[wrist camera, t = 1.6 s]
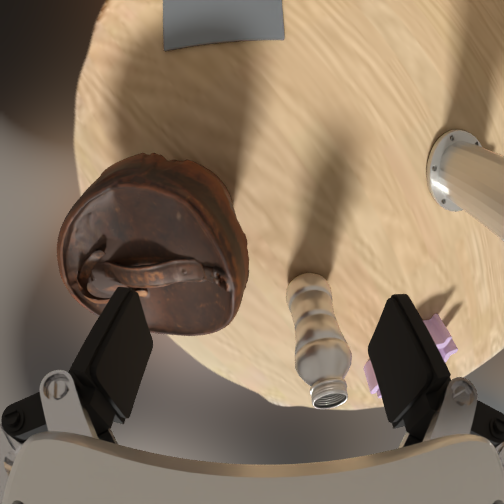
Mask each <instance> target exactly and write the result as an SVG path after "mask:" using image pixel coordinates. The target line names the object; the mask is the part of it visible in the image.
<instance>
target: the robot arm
mask: <svg viewBox="0 0 504 504" xmlns="http://www.w3.org/2000/svg"><path fill="white" fill-rule="evenodd" d="M427 182H428V187H429V190H430V193H431V195H432V197H433V198H434V200H435V201H436V202H437V203H438V204H439V205H440V206H442V207H443V208H445V209H446V210H449V211H455V212H457V211H462V210H464V211H466V212H467V213H468V214H470V215H471V216H472V217H474V218H475V219H476V220H478V221H479V222H480V223H482V224H483V225H484V226H485V227H487V228H488V229H489V230H490V231H492V232H493V233H494V234H495V235H497V236H498V237H499V238H500V239H501V240H502V241H504V156H503V155H500V154H498V153H495V152H493V151H490V150H488V149H485V148H483V147H482V146H481V144H480V142H479V141H478V140H477V138H476V137H475V136H473V135H472V134H471V133H469V132H466V131H463V130H451V131H448V132H446V133H444V134H443V135H442V136H441V137H440V138H439V139H438V140H437V141H436V143H435V144H434V146H433V148H432V150H431V152H430V155H429V159H428V164H427ZM152 348H153V340H152V337H151V334H150V331H149V328H148V324H147V321H146V318H145V315H144V311H143V308H142V305H141V301H140V297H139V294H138V293H137V292H135V291H134V289H133V288H130V287H118V288H117V289H116V290H115V292H114V293H113V295H112V297H111V298H110V300H109V301H108V303H107V305H106V306H105V308H104V310H103V311H102V313H101V315H100V316H99V318H98V320H97V321H96V323H95V324H94V326H93V328H92V330H91V331H90V333H89V335H88V337H87V338H86V340H85V342H84V344H83V346H82V347H81V349H80V351H79V353H78V355H77V357H76V359H75V361H74V362H73V364H72V366H71V368H70V370H69V372H66V371H63V370H55V371H52V372H50V373H48V374H47V375H46V376H45V377H44V378H43V380H42V382H41V385H40V392H38V393H36V394H34V395H31V396H29V397H27V398H25V399H22V400H20V401H18V402H16V403H13V404H11V405H9V406H8V407H7V408H6V409H5V410H4V412H3V415H2V423H1V424H0V504H504V414H502V413H501V412H499V411H497V410H495V409H493V408H491V407H490V406H488V405H485V404H484V403H482V402H480V401H478V400H477V397H478V394H477V390H476V388H475V386H474V385H473V384H472V383H471V381H469V380H467V379H466V378H462V377H457V378H454V379H452V380H451V379H450V375H451V374H450V372H449V370H448V368H447V366H446V364H445V362H444V360H443V358H442V356H441V354H440V352H439V350H438V348H437V346H436V344H435V342H434V340H433V338H432V336H431V335H430V333H429V331H428V329H427V327H426V325H425V324H424V322H423V320H422V318H421V317H420V315H419V313H418V311H417V310H416V308H415V306H414V304H413V303H412V301H411V299H410V298H409V296H408V295H407V294H394V295H392V296H391V298H389V299H388V300H387V302H386V304H385V307H384V310H383V312H382V315H381V317H380V320H379V322H378V325H377V327H376V329H375V332H374V334H373V336H372V339H371V341H370V343H369V346H368V354H369V357H370V360H371V363H372V367H373V370H374V373H375V376H376V379H377V383H378V386H379V389H380V393H381V396H382V400H383V403H384V407H385V411H386V414H387V418H388V420H389V422H391V423H392V425H393V428H399V427H403V426H405V427H406V431H407V432H406V434H405V436H404V438H403V440H402V442H401V444H400V446H399V448H398V449H394V450H390V451H385V452H381V453H376V454H371V455H366V456H361V457H355V458H349V459H342V460H335V461H326V462H316V463H304V464H286V465H246V464H227V463H214V462H205V461H197V460H189V459H183V458H177V457H171V456H165V455H160V454H154V453H150V452H146V451H141V450H137V449H133V448H129V447H125V446H121V445H119V444H118V442H117V441H116V438H115V436H114V435H113V432H112V430H111V426H112V423H113V422H117V423H121V424H124V421H125V418H129V417H130V414H131V411H132V408H133V404H134V402H135V398H136V395H137V392H138V389H139V386H140V383H141V380H142V377H143V374H144V371H145V368H146V365H147V362H148V359H149V357H150V354H151V351H152Z"/></svg>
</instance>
